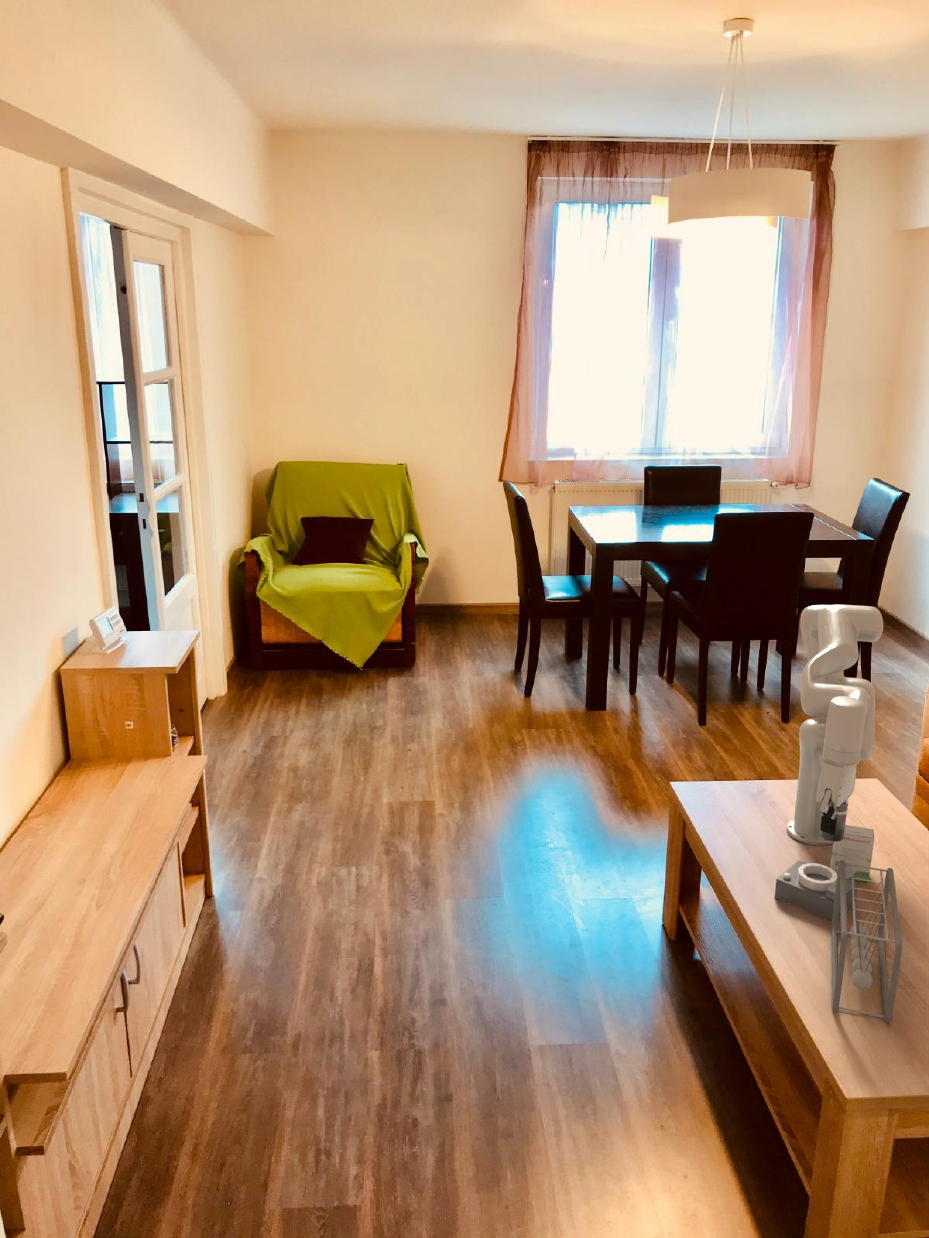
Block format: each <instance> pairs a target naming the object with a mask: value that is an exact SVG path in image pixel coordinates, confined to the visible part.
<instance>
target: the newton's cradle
mask: <svg viewBox="0 0 929 1238" xmlns="http://www.w3.org/2000/svg"><path fill="white" fill-rule="evenodd" d="M845 865H847V866H851V876H852V879H851V881H852V900H853V905H852V919H853V921H852V922H853V925H852V927H851V928H850V931H848V912H847V911H848V909H847V903H846V871H845ZM853 866H854V867H860V868H866V869H870V870H873V871H878V872H879V876H880V881H878V886H877V888H876V891H875V890H872V892H873V893H875V894H874V895H873V898H872V900H871V903H870V906H869V908H868V910H865V909H862V911H864V912H867V914H866V916H865V919H864V920H862V922H863V923H862V924H861V923H860V922H861V920H860V917H859V911H861V909H859V908H858V900H859V898H857V891H856V889H857V890H860V887H859V888H858V887H857V888H856V886H855V888H854V884H855V882H856V880H855V879H858V878H854V875H853ZM883 872H884V873H885V878H883ZM861 880H864V879H861ZM867 881H868V882H871V880H867ZM872 882H873V883H877V881H875V880H872ZM895 882H896V881H895V874H894V870H893V868H892V867H888V868H887V869H882V868H876V867H865V866H859V865H853V864H847V863H845V861H844V860H840V862H839V867H838V876H837V884H836V892H835V900H834V908H833V917H832V922H831V926H830V927H831V929H830V932H831V938H830V939H831V945H830V947H831V948H830V949H831V957H830V958H831V959H830V960H831V1010H832V1011H833V1012H835V1013H836V1012H838V1011H839V1010H844V1011H849V1012H854V1013H858V1014H861V1015H862V1014H864V1015H868V1016H873V1017H876V1018H877V1017H878V1018H881V1019H884V1021H885V1023H887V1024H890V1023H891V1022H892V1020H893V1015H894V1008H895V1001H896V995H897V994H896V993H897V987H898V980H899V974H900V969H901V967H900V966H901V959H902V954H903V953H902V951H903V946H902V945H903V942H902V941H903V940H902V933H901V925H900V924H901V923H900V919H899V909H898V899H897V893H896V883H895ZM879 887H881V891H878V890H879ZM854 890H855V897H854ZM863 890H864V891H866V889H865V888H861V891H863ZM867 891H868V892H871V889H867ZM877 893H879V895H878V898H877V901H875V897H876V894H877ZM880 897H881V898H882V900H881V902H879V900H880ZM889 898H890V908H891V916H892V917H891V919H892V925H893V926H892V927H893V928H892V929H893V937H894V940H891V939H889V930H888V919H887V911H888V904H889ZM860 900H862V901H864V899H862V898H860ZM865 901H867V902H870V900H868V899H865ZM873 902H874V903H875V906H874V908H873V911H871V910H870V909H871V907H872V905H873ZM878 903H879V904H880V905H879V908H878V911H877V912H875V910H876V908H877V905H878ZM839 906H841V916H840V931H838V922H839V918H838V914H839ZM869 913H872V914H871V916H870V918H869V921H868V922H867V921H866V919H867V918H868V914H869ZM875 913H876V916H875V918H874V921H873V922H872V918H873V916H874V914H875ZM878 915H880V916H879V921H878V923H877V922H876V920H877V918H878ZM875 922H876V923H875ZM865 923H868V924H867V926H865ZM870 924H872V925H871V929H870V931H869V926H870ZM875 925H877V927H876V929H875V931H874V934H873V936H872V935H871V933H872V930H873V928H874V926H875ZM884 931H885V932H884ZM876 933H877V936H876ZM884 933H885V934H884ZM838 934H840V942H839V943H840V945H839V951H838ZM870 935H871V936H870ZM884 935H885V936H884ZM848 936H850V937H851V941H850V948H851V950H852V951H851V953H850V957H851V960H852V962H851V971H852V972H853V974H852V976H851V981H852V984H853V985H854V987H855V988H856V989H858V990H860V991H866V990H867V991H868V989H870V988H872V985H873V977H872V975H871V974H872V971H873V970H872V969H873V967H872V965H871V960H872V957H873V955H874V952H875V949H876V947H877V946H878V955H879V956H878V958H879V970H880V984H881V994H882V995H881V997H882V1007H883V1009H882V1010H883V1015H882V1014H877V1013H873V1012H869V1011H868V1012H867V1011H863V1010H859V1009H858V1010H857V1009H852V1008H848V1007H845V1006H844V1007H843V1006H840V999H841V992H842V986H843V977H844V969H845V962H846V953H847V947H848V946H847V945H848ZM869 940H871V941H869ZM873 940H874V941H876V943H875V945H874V947H873V950H872V952H870V950H871V946H872V943H873ZM885 942H887V943H894V944H895V945H894V956H893V961H892V962H893V963H892V970H891V977H890V985H889V984H888V973H887V965H886V964H887V963H886V962H887V961H886V952H885ZM877 944H878V945H877Z"/></svg>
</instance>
